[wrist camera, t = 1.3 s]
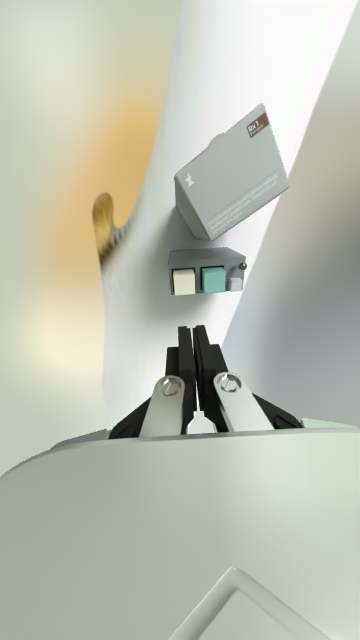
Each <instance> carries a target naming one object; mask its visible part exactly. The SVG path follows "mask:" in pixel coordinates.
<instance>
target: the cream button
mask: <svg viewBox="0 0 360 640" xmlns="http://www.w3.org/2000/svg"><path fill="white" fill-rule="evenodd" d="M173 277H174V289H175V295H189V294H195V273H194V271H193V268H187V269H174V273H173Z"/></svg>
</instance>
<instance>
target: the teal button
mask: <svg viewBox="0 0 360 640" xmlns="http://www.w3.org/2000/svg"><path fill="white" fill-rule="evenodd" d="M225 280H226V271H225V270H224V269H223V268H222V267H221V266H215V267H201V281H202V288H203V291H204V293H218V292H225Z"/></svg>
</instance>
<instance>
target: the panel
mask: <svg viewBox="0 0 360 640" xmlns="http://www.w3.org/2000/svg"><path fill="white" fill-rule="evenodd" d="M245 258H246V256H244V255H242V254H239V253H237V252H235V251H233V250H231V249H229V248H227V247H223V248H209V249H196V250H182V251H170V256H169V261H168V265H169V276H170V286H171V295H175V289H174V277H173V273H174V269H187V268H193V271H194V273H195V293H204V291H203V288H202V281H201V267H215V266H221V267H222V268H223V269H224V270H225V271H226V280H225V291H230V290H229V289H228V284H229V278H240V279H241V280H242V289H243V279H244V270H240V269H235V270H233V266H234V265H239V264H240V263H242V262H244V263H245Z"/></svg>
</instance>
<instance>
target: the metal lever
mask: <svg viewBox="0 0 360 640" xmlns="http://www.w3.org/2000/svg"><path fill="white" fill-rule="evenodd" d="M246 267H247V265H246V263H244V262H242V263H240V264H239V265H234V266H233V270H235V269H240V270H245V269H246Z"/></svg>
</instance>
